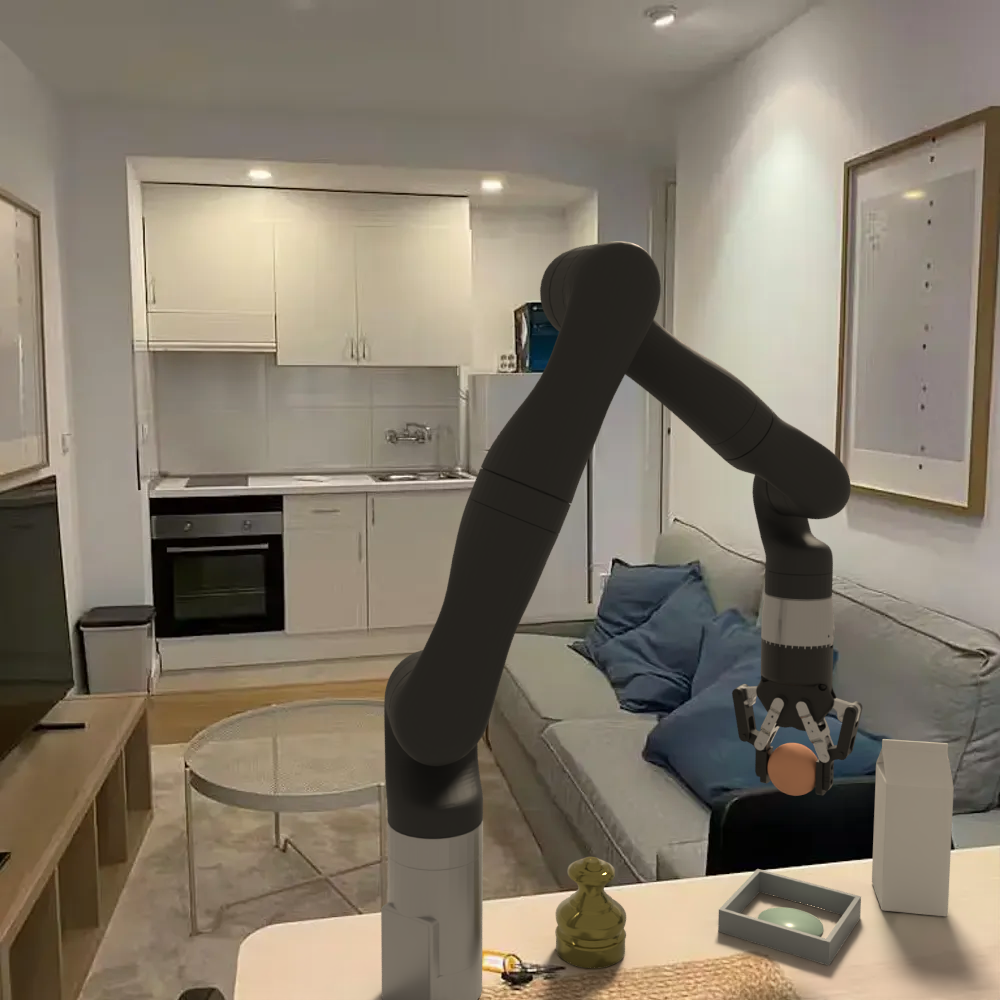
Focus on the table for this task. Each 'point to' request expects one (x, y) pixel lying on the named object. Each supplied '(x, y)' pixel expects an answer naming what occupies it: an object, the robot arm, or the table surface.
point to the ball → (793, 769)
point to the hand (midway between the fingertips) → (793, 786)
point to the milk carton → (912, 827)
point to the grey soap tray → (790, 916)
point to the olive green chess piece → (590, 918)
